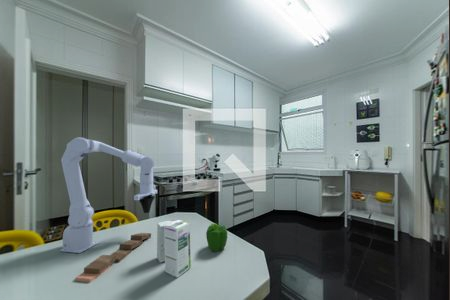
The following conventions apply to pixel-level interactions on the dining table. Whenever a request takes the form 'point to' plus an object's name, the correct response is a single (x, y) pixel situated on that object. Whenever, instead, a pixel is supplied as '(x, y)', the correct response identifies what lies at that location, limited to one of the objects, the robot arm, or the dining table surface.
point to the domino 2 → (89, 276)
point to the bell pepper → (216, 237)
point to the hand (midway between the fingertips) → (146, 212)
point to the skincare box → (161, 240)
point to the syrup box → (177, 247)
